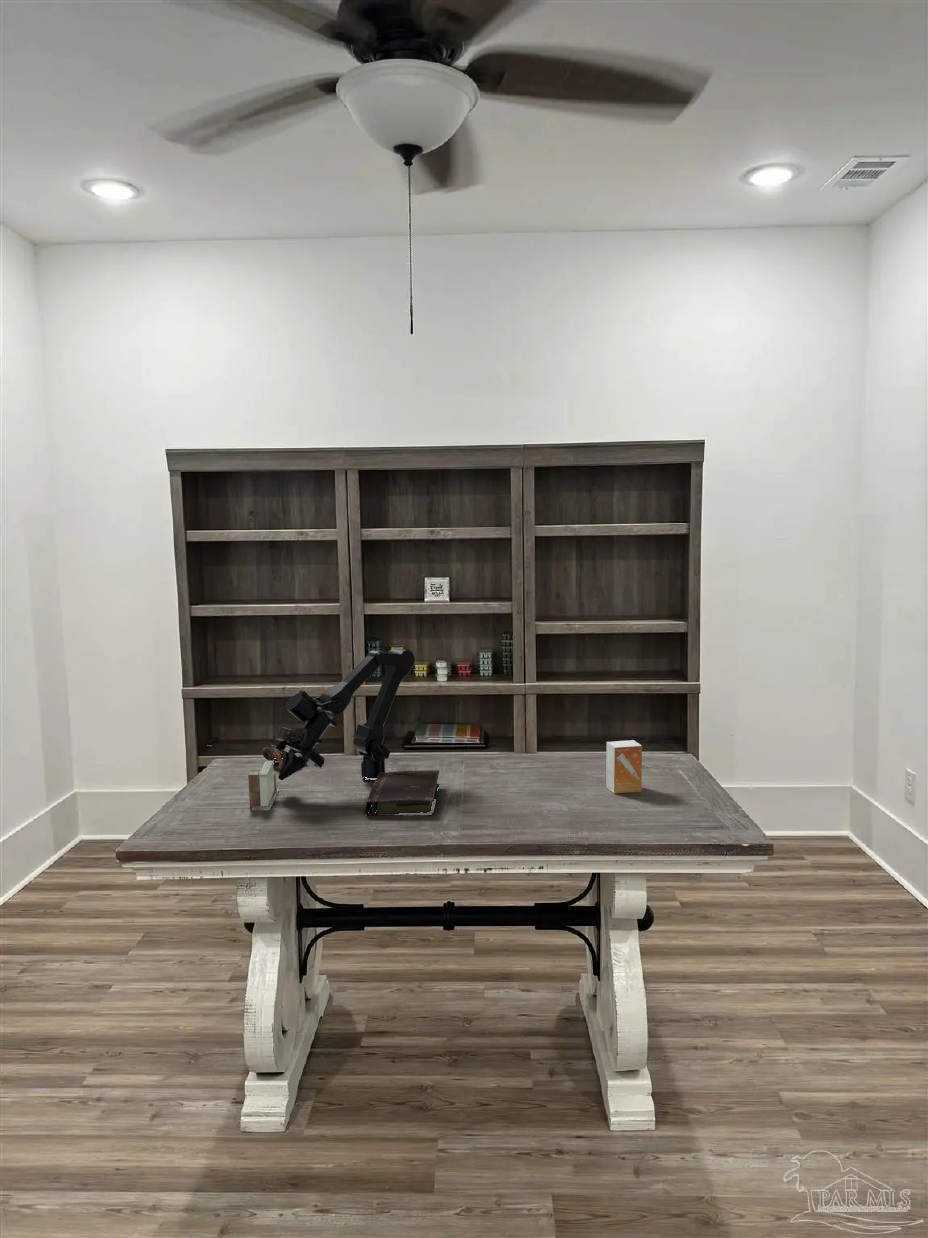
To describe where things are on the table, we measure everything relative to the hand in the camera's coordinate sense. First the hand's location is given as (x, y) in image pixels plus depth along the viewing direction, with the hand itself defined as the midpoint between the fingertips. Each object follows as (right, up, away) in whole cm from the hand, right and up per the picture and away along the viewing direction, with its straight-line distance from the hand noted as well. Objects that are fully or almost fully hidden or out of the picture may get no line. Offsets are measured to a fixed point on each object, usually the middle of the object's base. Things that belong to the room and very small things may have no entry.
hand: (279, 779), depth 233 cm
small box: (+93, -4, +5) cm, 94 cm away
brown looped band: (-7, -2, +34) cm, 35 cm away
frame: (-5, -6, +2) cm, 8 cm away
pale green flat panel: (-3, -5, 0) cm, 6 cm away
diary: (+34, -6, 0) cm, 34 cm away
